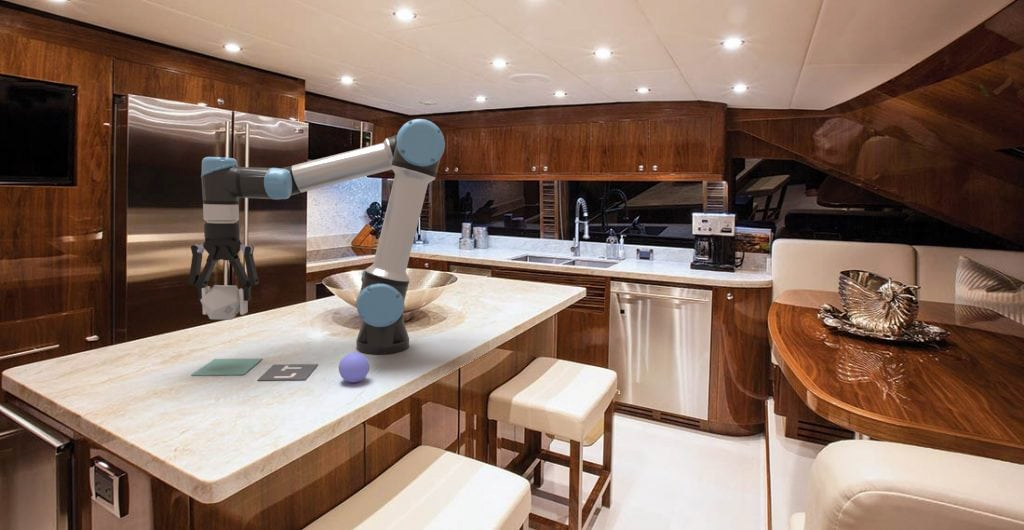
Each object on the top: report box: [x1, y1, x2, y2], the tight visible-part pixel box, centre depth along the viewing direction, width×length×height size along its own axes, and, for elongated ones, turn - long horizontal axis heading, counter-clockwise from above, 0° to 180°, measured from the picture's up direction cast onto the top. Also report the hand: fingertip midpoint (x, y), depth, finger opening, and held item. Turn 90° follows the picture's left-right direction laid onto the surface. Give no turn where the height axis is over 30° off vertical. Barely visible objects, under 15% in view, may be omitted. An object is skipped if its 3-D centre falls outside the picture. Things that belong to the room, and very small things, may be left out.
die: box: [199, 284, 240, 321], centre depth 125 cm, size 8×9×10 cm
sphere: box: [338, 352, 370, 383], centre depth 121 cm, size 7×7×7 cm
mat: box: [190, 357, 263, 377], centre depth 128 cm, size 12×12×1 cm
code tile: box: [256, 363, 318, 382], centre depth 125 cm, size 11×11×1 cm
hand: (225, 313), depth 126 cm, fingers closed on die, 8 cm apart
